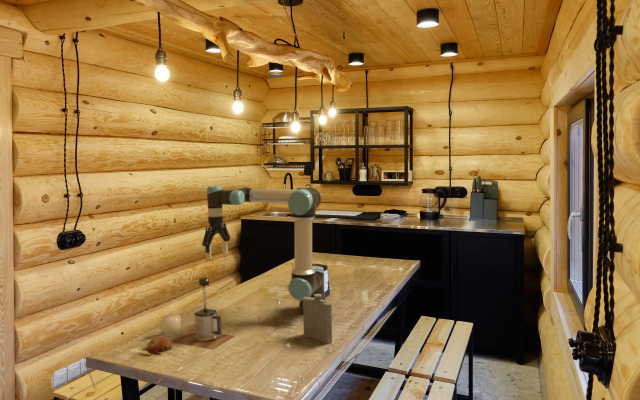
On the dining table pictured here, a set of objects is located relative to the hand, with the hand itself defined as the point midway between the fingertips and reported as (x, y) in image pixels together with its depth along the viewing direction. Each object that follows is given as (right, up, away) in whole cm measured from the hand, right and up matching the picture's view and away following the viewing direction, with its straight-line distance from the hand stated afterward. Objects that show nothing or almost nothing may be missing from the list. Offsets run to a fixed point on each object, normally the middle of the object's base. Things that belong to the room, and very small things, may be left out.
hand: (217, 256), depth 257 cm
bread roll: (-14, -35, -48) cm, 61 cm away
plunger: (+3, -23, -38) cm, 45 cm away
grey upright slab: (+53, -33, -38) cm, 73 cm away
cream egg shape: (-14, -33, -33) cm, 48 cm away
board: (+1, -33, -38) cm, 51 cm away
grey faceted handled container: (+4, -32, -38) cm, 50 cm away
